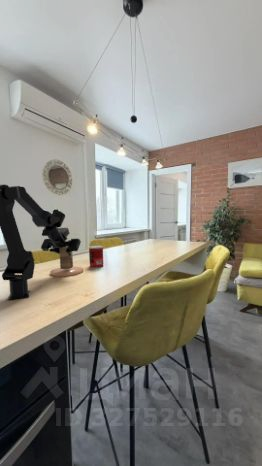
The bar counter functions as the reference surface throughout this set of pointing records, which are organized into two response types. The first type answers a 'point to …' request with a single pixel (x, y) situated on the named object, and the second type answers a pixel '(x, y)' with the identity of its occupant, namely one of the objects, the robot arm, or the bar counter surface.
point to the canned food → (96, 256)
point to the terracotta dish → (66, 272)
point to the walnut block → (65, 259)
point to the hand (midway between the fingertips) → (67, 254)
